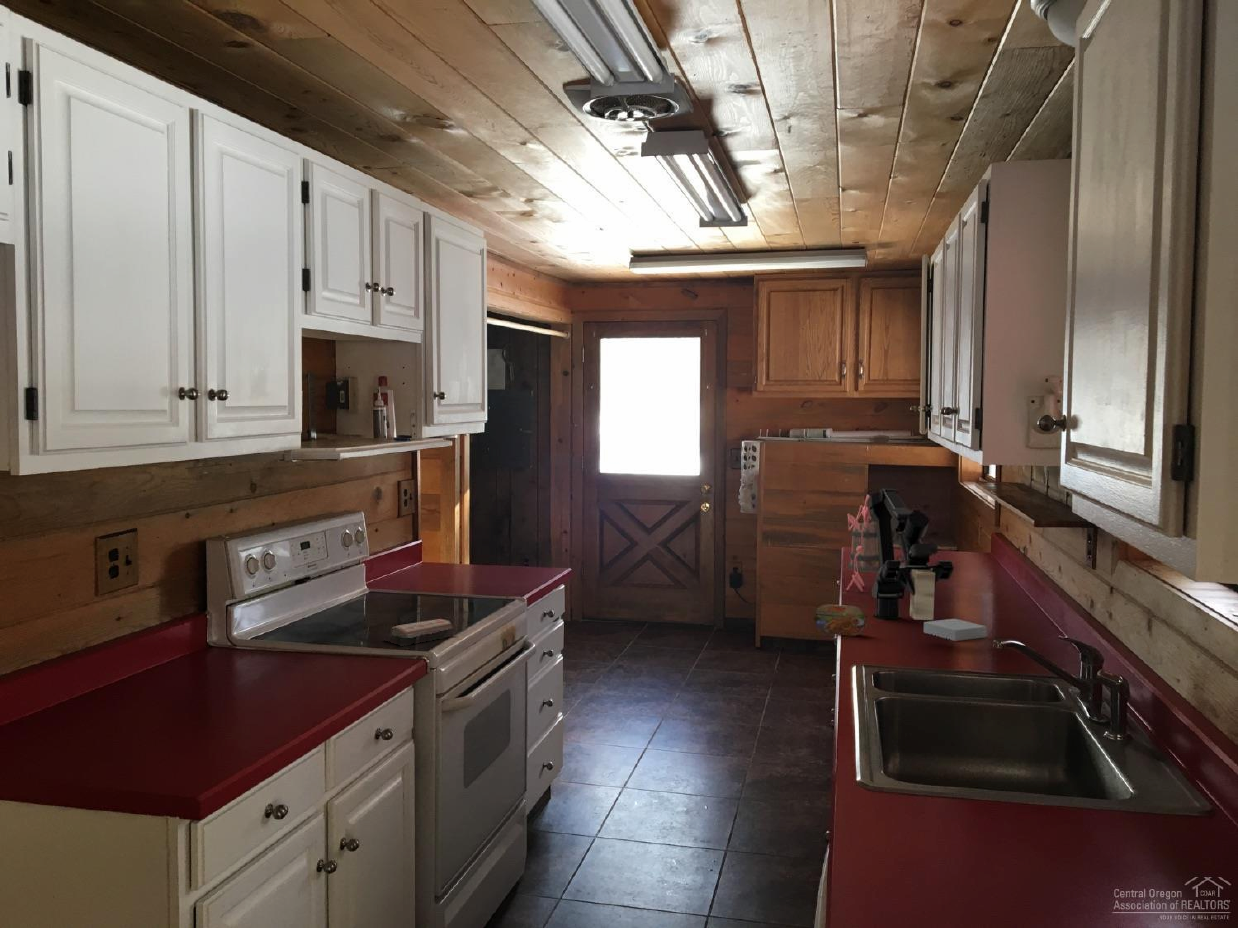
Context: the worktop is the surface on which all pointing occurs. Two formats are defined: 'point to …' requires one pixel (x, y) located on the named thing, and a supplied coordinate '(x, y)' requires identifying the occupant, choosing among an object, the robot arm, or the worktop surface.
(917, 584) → the birch block
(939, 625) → the plinth
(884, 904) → the worktop surface
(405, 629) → the packaged product
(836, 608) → the tin
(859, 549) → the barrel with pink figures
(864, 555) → the tankard
